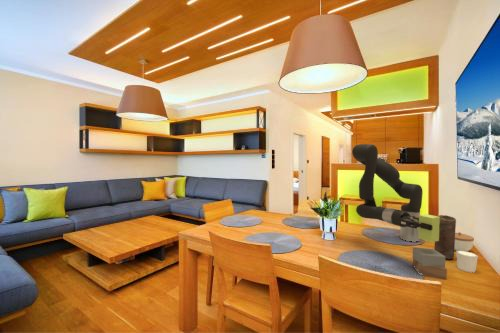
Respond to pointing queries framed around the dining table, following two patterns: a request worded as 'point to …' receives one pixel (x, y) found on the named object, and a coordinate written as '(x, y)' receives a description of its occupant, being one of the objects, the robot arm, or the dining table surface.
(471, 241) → the lidded jar
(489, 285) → the dining table surface
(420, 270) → the walnut base block
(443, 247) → the candle
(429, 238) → the lime pillar
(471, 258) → the white short cylinder
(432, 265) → the charcoal top block
